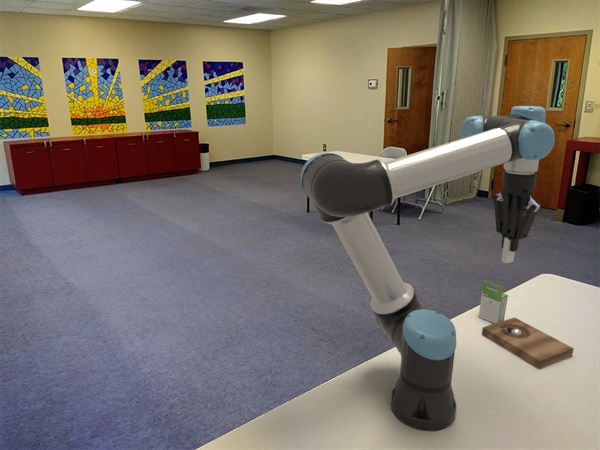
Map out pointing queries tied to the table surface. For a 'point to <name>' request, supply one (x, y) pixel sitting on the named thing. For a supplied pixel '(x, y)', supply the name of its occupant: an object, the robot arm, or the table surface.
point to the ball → (516, 331)
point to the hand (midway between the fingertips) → (507, 261)
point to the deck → (528, 342)
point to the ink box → (492, 303)
